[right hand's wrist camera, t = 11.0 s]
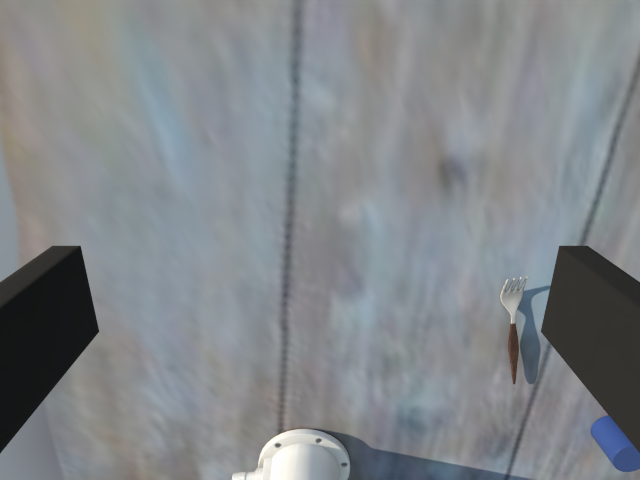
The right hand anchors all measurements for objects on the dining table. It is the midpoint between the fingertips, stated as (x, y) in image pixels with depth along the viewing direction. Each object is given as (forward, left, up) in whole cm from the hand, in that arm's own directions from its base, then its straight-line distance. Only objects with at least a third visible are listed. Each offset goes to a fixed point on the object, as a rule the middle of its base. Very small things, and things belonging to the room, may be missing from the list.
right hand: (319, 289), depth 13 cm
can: (-20, +52, -35) cm, 66 cm away
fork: (-12, +31, -35) cm, 48 cm away
